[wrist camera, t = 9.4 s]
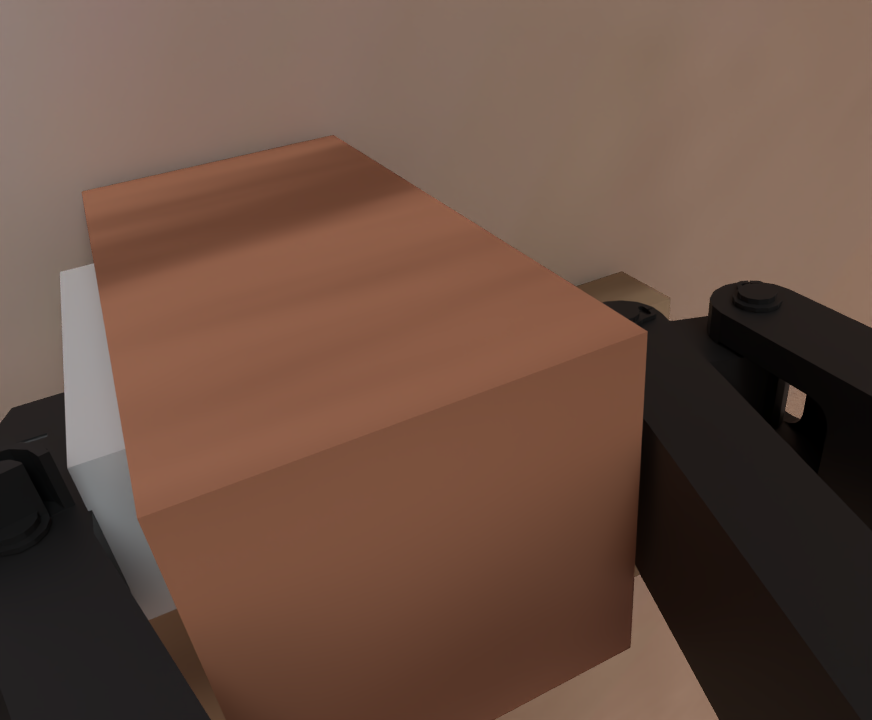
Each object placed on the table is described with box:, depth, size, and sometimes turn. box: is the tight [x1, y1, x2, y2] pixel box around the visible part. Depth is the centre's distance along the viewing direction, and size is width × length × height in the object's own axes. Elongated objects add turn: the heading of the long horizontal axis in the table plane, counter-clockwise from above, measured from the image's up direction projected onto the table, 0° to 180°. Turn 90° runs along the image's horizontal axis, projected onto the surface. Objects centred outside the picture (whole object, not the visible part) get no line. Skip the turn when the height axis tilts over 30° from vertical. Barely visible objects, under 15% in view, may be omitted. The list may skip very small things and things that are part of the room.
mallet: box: [82, 135, 648, 720], centre depth 14 cm, size 15×5×10 cm, turn 7°
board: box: [149, 272, 670, 720], centre depth 18 cm, size 10×30×2 cm, turn 98°
